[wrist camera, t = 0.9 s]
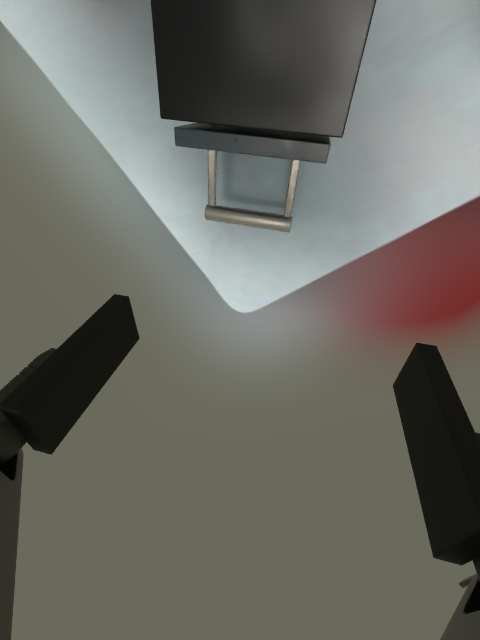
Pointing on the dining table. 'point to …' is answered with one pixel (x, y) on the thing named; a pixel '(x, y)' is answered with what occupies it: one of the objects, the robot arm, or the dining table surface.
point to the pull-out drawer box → (252, 144)
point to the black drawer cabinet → (260, 62)
